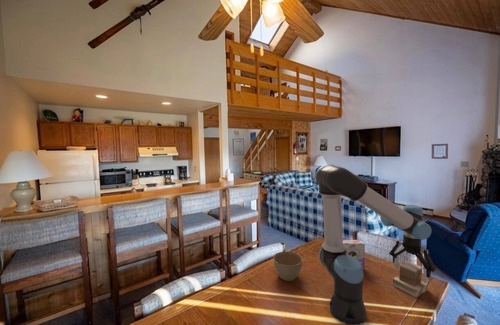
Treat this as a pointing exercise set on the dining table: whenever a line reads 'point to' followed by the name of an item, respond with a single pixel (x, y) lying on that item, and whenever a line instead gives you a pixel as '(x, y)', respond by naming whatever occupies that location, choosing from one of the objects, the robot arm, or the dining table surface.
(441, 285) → the dining table surface
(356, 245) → the candy box
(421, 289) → the riser block
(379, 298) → the dining table surface
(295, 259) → the planter bowl
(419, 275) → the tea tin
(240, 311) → the dining table surface
